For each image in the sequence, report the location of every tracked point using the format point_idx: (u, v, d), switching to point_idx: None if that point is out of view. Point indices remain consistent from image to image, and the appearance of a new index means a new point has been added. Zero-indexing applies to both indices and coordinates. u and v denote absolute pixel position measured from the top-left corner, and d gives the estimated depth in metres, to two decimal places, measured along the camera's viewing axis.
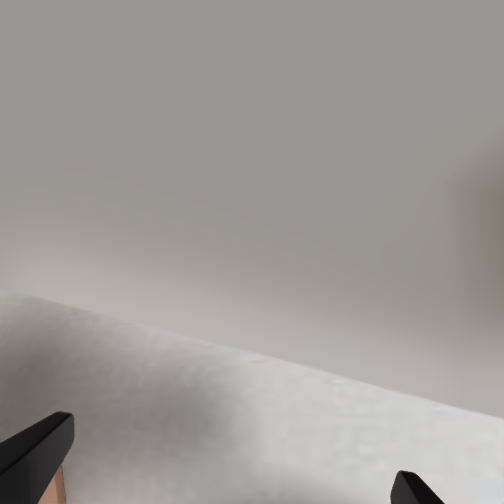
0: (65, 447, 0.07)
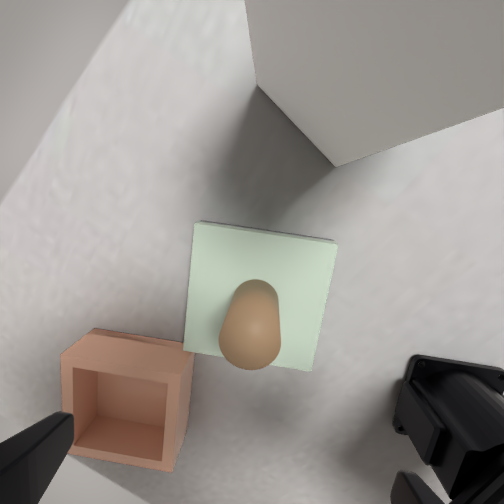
0: (65, 447, 0.07)
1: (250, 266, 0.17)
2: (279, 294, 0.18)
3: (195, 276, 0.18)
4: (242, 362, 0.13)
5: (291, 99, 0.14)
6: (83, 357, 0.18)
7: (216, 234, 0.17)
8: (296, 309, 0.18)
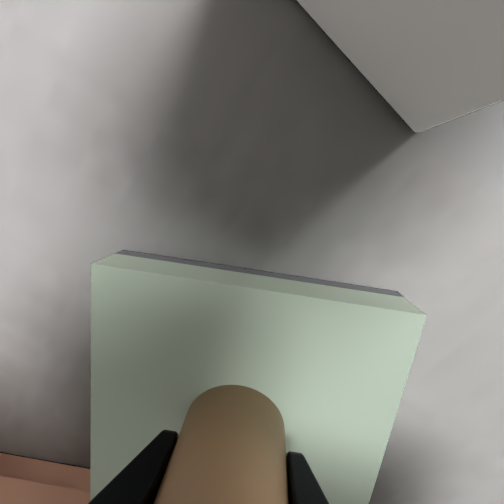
0: None
1: (221, 358, 0.08)
2: (286, 417, 0.08)
3: (102, 375, 0.08)
4: None
5: None
6: None
7: (141, 287, 0.07)
8: (323, 446, 0.08)
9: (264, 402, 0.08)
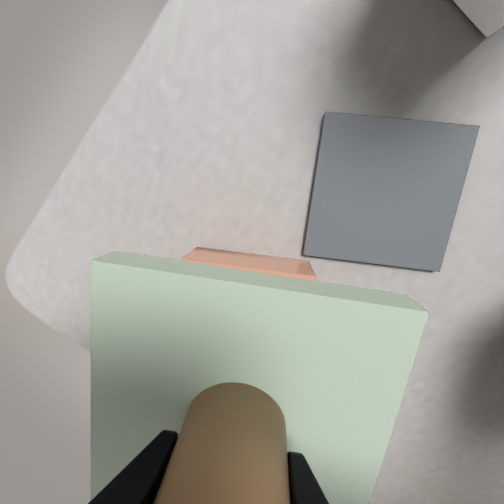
0: None
1: (222, 355, 0.08)
2: (287, 414, 0.08)
3: (103, 373, 0.08)
4: None
5: None
6: (205, 261, 0.16)
7: (142, 284, 0.07)
8: (324, 444, 0.08)
9: (265, 400, 0.08)
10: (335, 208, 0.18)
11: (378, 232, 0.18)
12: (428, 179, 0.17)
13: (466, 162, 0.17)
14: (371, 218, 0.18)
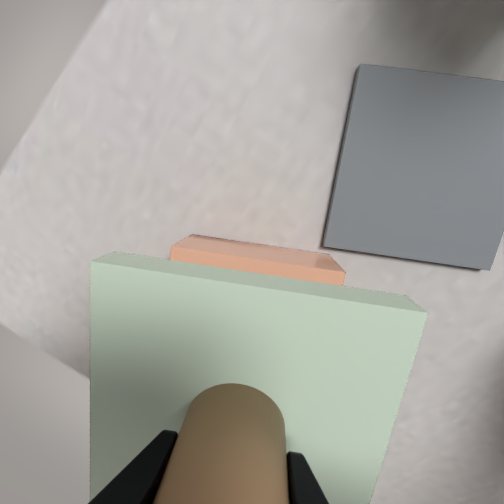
0: None
1: (221, 356, 0.08)
2: (286, 416, 0.08)
3: (102, 374, 0.08)
4: None
5: None
6: (203, 250, 0.13)
7: (141, 285, 0.07)
8: (324, 445, 0.08)
9: (264, 401, 0.08)
10: (366, 189, 0.14)
11: (417, 220, 0.14)
12: (484, 154, 0.14)
13: None
14: (410, 202, 0.14)
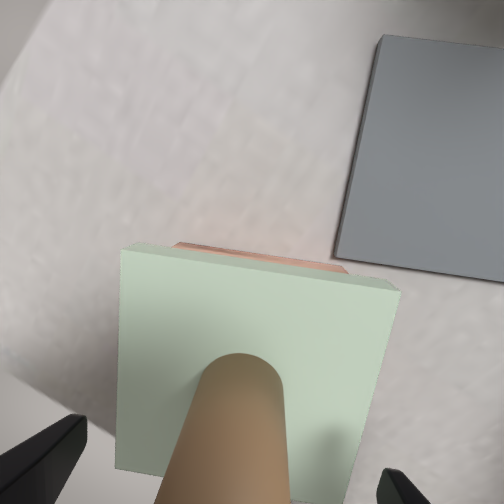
0: (79, 450, 0.07)
1: (230, 330, 0.09)
2: (285, 381, 0.10)
3: (128, 346, 0.10)
4: None
5: None
6: None
7: (163, 270, 0.09)
8: (316, 406, 0.10)
9: (266, 367, 0.09)
10: (388, 188, 0.12)
11: (449, 226, 0.12)
12: None
13: None
14: (440, 204, 0.12)
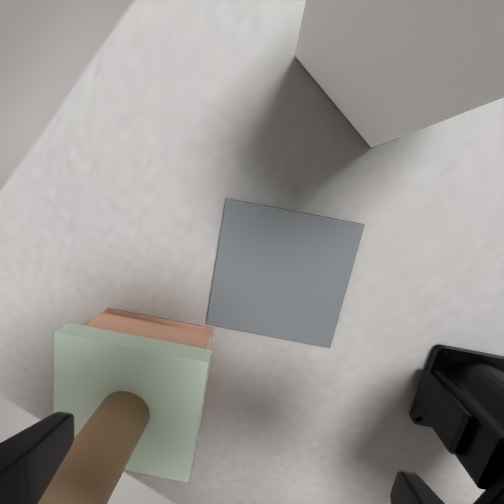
0: (65, 447, 0.07)
1: (117, 378, 0.16)
2: (150, 407, 0.16)
3: (59, 384, 0.16)
4: None
5: (339, 68, 0.13)
6: None
7: (78, 344, 0.16)
8: (169, 422, 0.17)
9: (136, 400, 0.16)
10: (235, 285, 0.19)
11: (274, 309, 0.19)
12: (319, 266, 0.18)
13: (353, 255, 0.18)
14: (268, 296, 0.19)
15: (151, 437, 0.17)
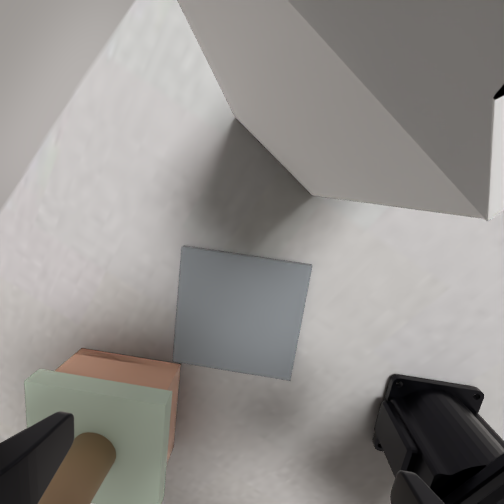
0: (65, 447, 0.07)
1: (84, 420, 0.17)
2: (115, 446, 0.18)
3: None
4: None
5: (264, 138, 0.14)
6: None
7: (46, 391, 0.17)
8: (134, 460, 0.18)
9: (102, 440, 0.17)
10: (197, 325, 0.20)
11: (235, 346, 0.20)
12: (273, 305, 0.19)
13: (304, 294, 0.19)
14: (228, 334, 0.20)
15: (119, 473, 0.18)
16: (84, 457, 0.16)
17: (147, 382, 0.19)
